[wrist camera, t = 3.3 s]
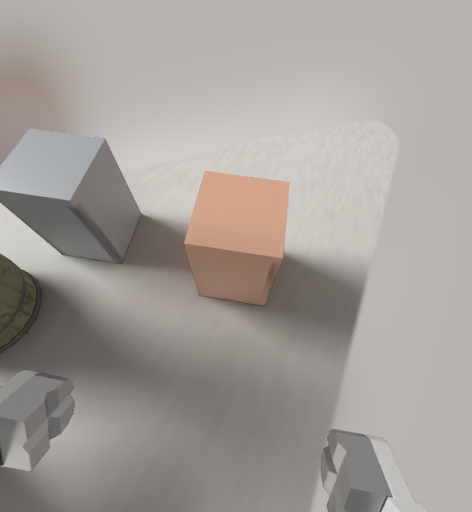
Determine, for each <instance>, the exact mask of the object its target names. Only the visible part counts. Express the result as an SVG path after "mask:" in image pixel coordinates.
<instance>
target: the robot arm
mask: <svg viewBox="0 0 472 512" xmlns="http://www.w3.org/2000/svg"><path fill="white" fill-rule="evenodd" d="M73 389H74V387H73V380H70V379H67V378H63V377H58V376H54V375H49V374H45V373H39V372H35V371H30V370H23V371H20V372H18V373H17V374H16V375H14V376H13V377H12V378H11V379H9V380H8V381H7V382H6V383H4V384H3V385H2V386H1V387H0V469H1V466H3V467H8V468H14V469H20V470H26V471H32V470H33V469H34V467H35V466H36V465H37V464H38V462H39V461H40V460H41V458H42V457H43V456H44V455H45V453H46V452H47V451H48V450H49V448H50V440H51V439H52V438H54V437H56V436H58V435H59V434H61V433H62V432H63V430H64V429H65V428H66V426H67V425H68V423H69V421H70V419H71V417H72V415H73V412H74V407H75V402H74V399H73V397H72V396H71V395H70V392H71V391H72V390H73ZM327 439H328V444H329V446H327V447H326V448H324V449H323V453H322V457H321V477H322V483H323V487H324V489H325V490H326V491H327V493H328V494H329V495H330V497H329V500H328V503H327V509H328V512H429V511H428V510H427V509H426V508H425V507H424V506H423V505H422V504H420V503H416V502H415V500H414V498H413V496H412V494H411V492H410V490H409V487H408V485H407V483H406V481H405V479H404V477H403V475H402V473H401V470H400V468H399V466H398V464H397V462H396V460H395V458H394V456H393V453H392V451H391V449H390V447H389V445H388V443H387V441H386V440H385V439H384V438H379V437H374V436H368V435H364V434H358V433H353V432H347V431H342V430H336V429H331V430H330V431H329V434H328V437H327Z"/></svg>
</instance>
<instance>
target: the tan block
mask: <svg viewBox="0 0 472 512" xmlns="http://www.w3.org/2000/svg"><path fill="white" fill-rule="evenodd" d="M289 185H290V182H283V181H275V180H268V179H261V178H253V177H246V176H239V175H231V174H224V173H217V172H209V171H205V172H204V175H203V179H202V182H201V186H200V189H199V192H198V196H197V199H196V203H195V206H194V210H193V213H192V217H191V220H190V223H189V227H188V230H187V234H186V237H185V241H184V246H185V249H186V253H187V256H188V260H189V263H190V266H191V270H192V273H193V276H194V280H195V283H196V286H197V290H198V293H199V295H201V296H207V297H213V298H219V299H225V300H232V301H238V302H244V303H250V304H256V305H263V306H265V303H266V301H267V298H268V295H269V293H270V290H271V288H272V285H273V283H274V280H275V278H276V275H277V273H278V270H279V268H280V265H281V262H282V260H283V254H284V242H285V231H286V219H287V208H288V196H289Z"/></svg>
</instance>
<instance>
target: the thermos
mask: <svg viewBox="0 0 472 512" xmlns="http://www.w3.org/2000/svg"><path fill="white" fill-rule="evenodd" d="M40 306H41V289H40V287H39V285H38V283H37V280H36V279H34V278H33V277H32V276H31V275H30V274H29V273H27V272H26V271H24V270H21V269H20V268H19V267H18V266H17V265H16V264H14V263H13V262H12V261H11V260H10V259H8V258H6V257H5V256H3V255H1V254H0V353H1V352H2V351H4V350H6V349H7V348H9V347H11V346H12V345H14V344H15V343H16V342H17V341H18V340H19V339H20V338H21V337H22V336H23V335H24V334H26V333H27V331H28V330H29V328H30V327H31V325H32V324H33V322H34V321H35V319H36V318H37V315H38V312H39V309H40Z"/></svg>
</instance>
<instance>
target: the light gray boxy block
mask: <svg viewBox="0 0 472 512" xmlns="http://www.w3.org/2000/svg"><path fill="white" fill-rule="evenodd" d="M0 203H2V204H3V205H4V206H5V207H6V208H8V209H9V210H10V211H11V212H12V213H14V214H15V215H16V216H17V217H18V218H19V219H21V220H22V221H23V222H24V223H25V224H27V225H28V226H29V227H30V228H31V229H32V230H34V231H35V232H36V233H37V234H38V235H40V236H41V237H42V238H43V239H44V240H45V241H47V242H48V243H49V244H50V245H51V246H53V247H54V248H55V249H56V250H57V251H58V252H60V253H61V254H63V255H69V256H76V257H82V258H89V259H95V260H101V261H108V262H114V263H120V264H121V263H122V261H123V258H124V256H125V253H126V251H127V248H128V246H129V243H130V241H131V238H132V236H133V233H134V231H135V228H136V226H137V223H138V221H139V218H140V216H141V212H140V210H139V208H138V206H137V204H136V202H135V200H134V197H133V195H132V193H131V191H130V189H129V187H128V185H127V183H126V181H125V179H124V177H123V175H122V173H121V171H120V168H119V166H118V164H117V163H116V160H115V158H114V156H113V154H112V152H111V150H110V148H109V146H108V144H107V142H106V140H105V139H104V138H97V137H89V136H82V135H74V134H66V133H59V132H52V131H44V130H37V129H29V130H28V132H27V133H26V134H25V135H24V137H23V138H22V139H21V140H20V142H19V143H18V144H17V145H16V147H15V148H14V149H13V151H12V152H11V153H10V154H9V156H8V157H7V158H6V159H5V161H4V162H3V163H2V165H1V166H0Z"/></svg>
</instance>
